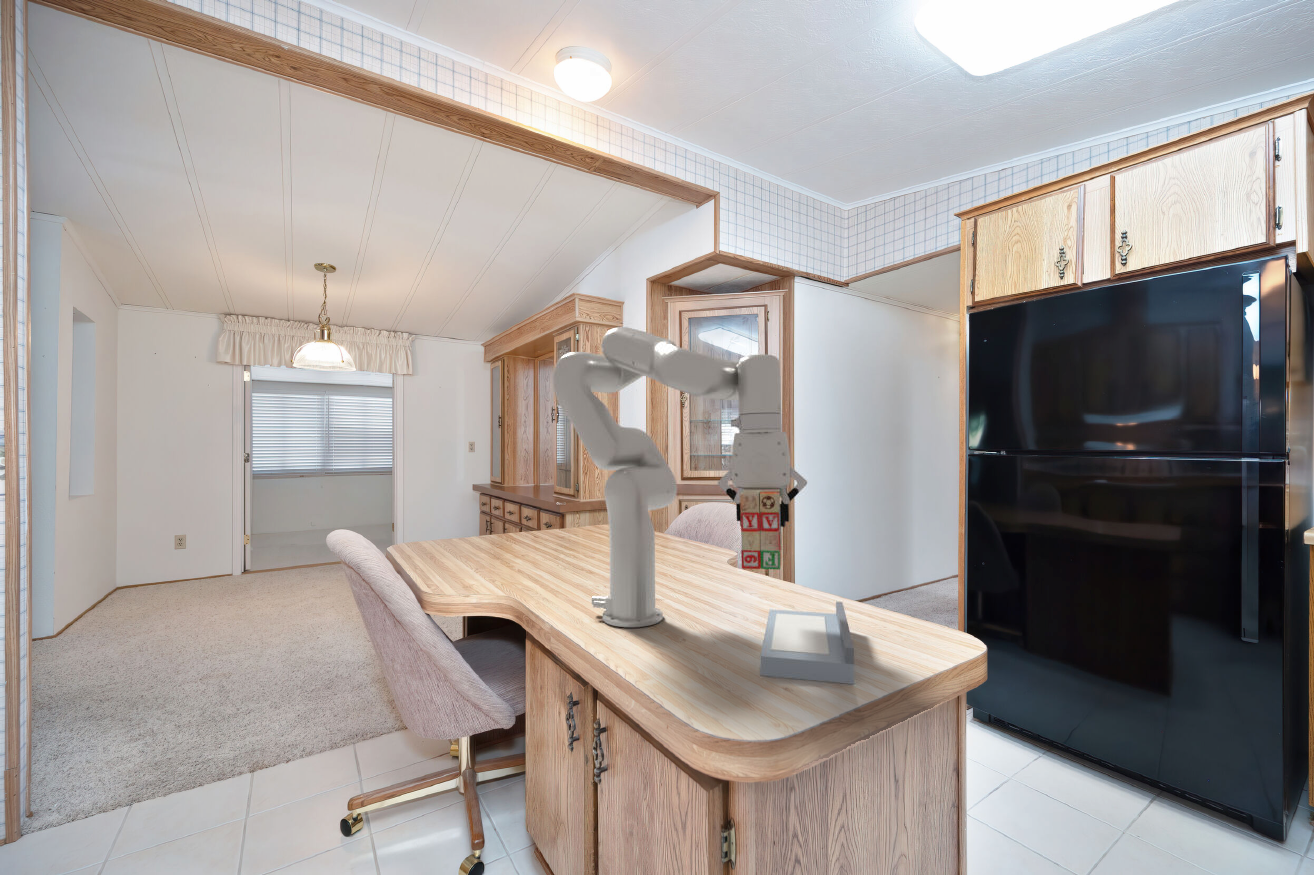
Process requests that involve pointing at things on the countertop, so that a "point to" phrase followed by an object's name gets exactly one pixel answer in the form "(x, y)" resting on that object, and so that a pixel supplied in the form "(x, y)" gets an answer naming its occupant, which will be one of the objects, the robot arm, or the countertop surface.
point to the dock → (808, 646)
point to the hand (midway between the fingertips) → (762, 524)
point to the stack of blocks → (760, 529)
